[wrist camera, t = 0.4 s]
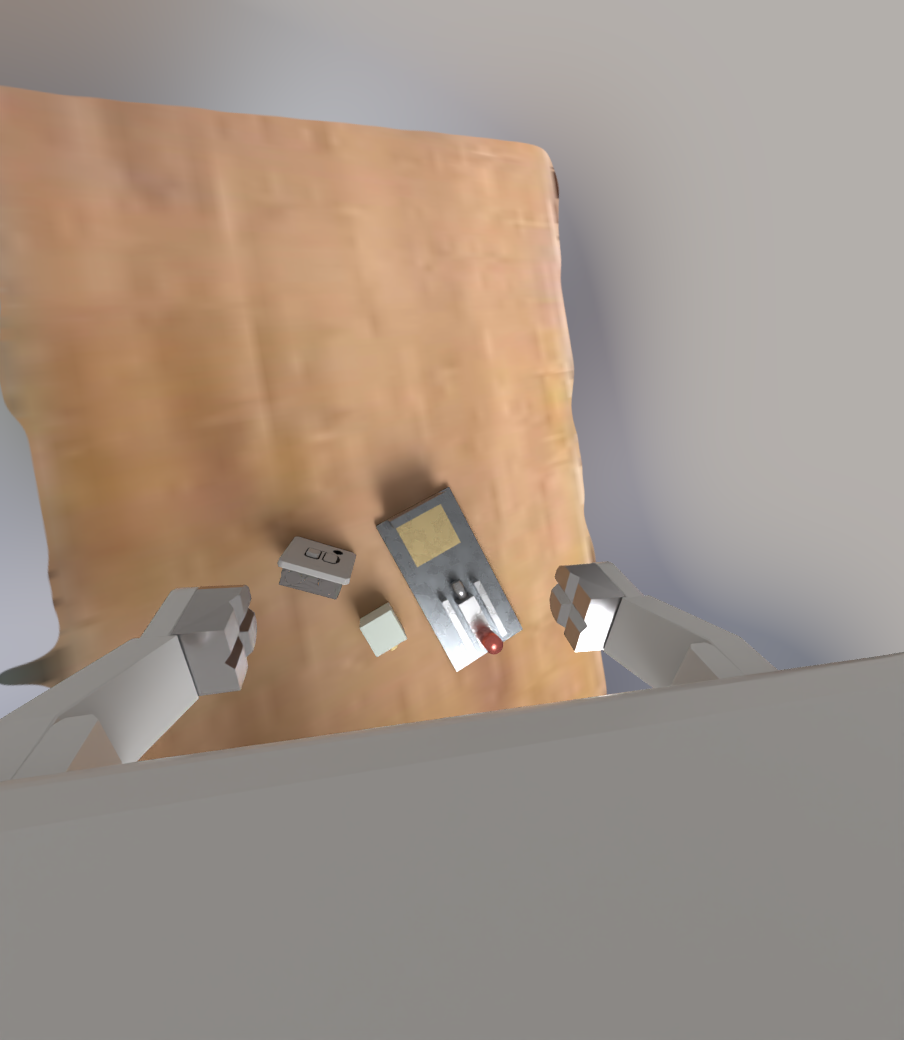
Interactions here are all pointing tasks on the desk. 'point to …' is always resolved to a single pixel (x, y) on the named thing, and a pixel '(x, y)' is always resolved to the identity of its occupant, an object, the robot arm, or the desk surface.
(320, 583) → the electrical switch
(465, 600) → the ram
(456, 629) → the press
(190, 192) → the desk surface
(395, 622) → the block
